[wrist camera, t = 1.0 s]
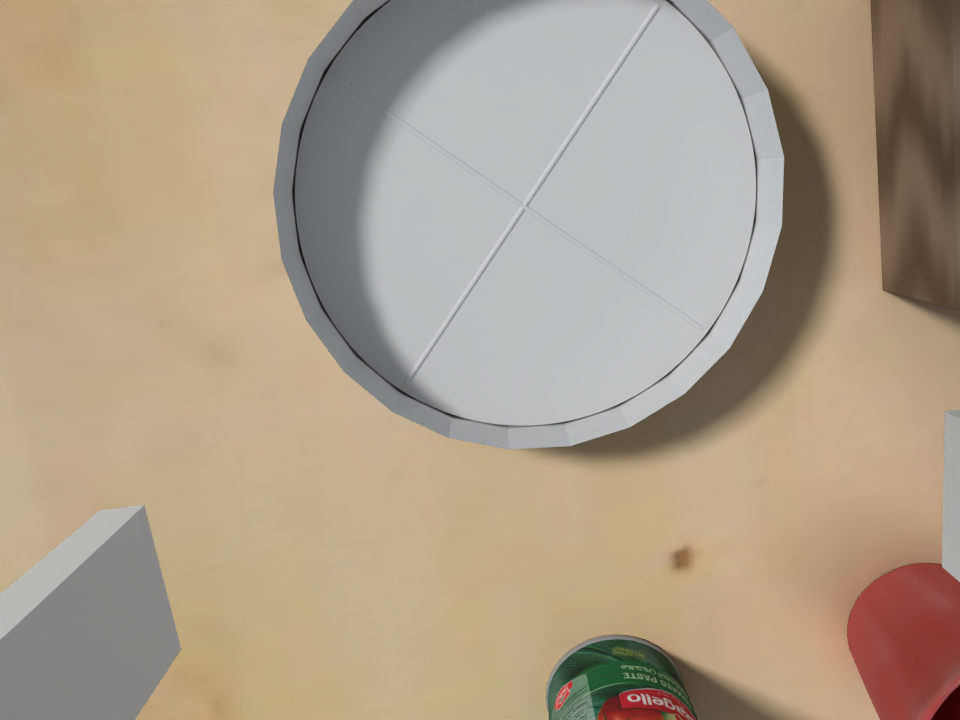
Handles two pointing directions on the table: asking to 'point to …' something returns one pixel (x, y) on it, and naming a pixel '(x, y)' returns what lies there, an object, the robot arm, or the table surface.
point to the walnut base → (918, 146)
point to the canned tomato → (617, 683)
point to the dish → (528, 208)
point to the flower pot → (909, 643)
